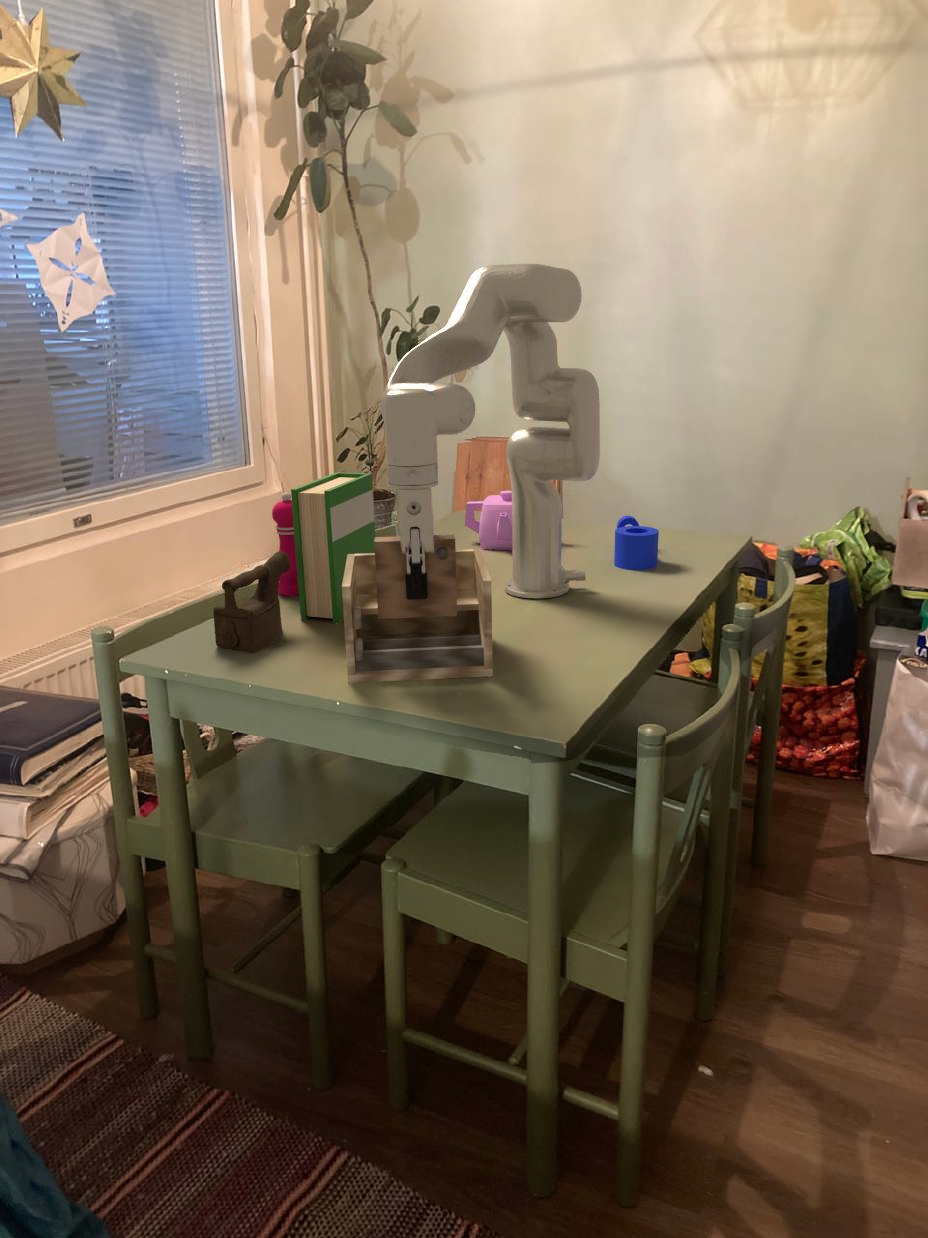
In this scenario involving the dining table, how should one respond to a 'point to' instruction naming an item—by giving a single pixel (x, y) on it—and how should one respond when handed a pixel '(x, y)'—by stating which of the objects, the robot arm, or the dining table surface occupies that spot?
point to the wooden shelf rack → (418, 628)
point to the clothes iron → (252, 608)
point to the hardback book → (330, 537)
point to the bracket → (635, 545)
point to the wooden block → (395, 566)
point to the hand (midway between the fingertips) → (416, 594)
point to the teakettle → (492, 521)
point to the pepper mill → (286, 544)
